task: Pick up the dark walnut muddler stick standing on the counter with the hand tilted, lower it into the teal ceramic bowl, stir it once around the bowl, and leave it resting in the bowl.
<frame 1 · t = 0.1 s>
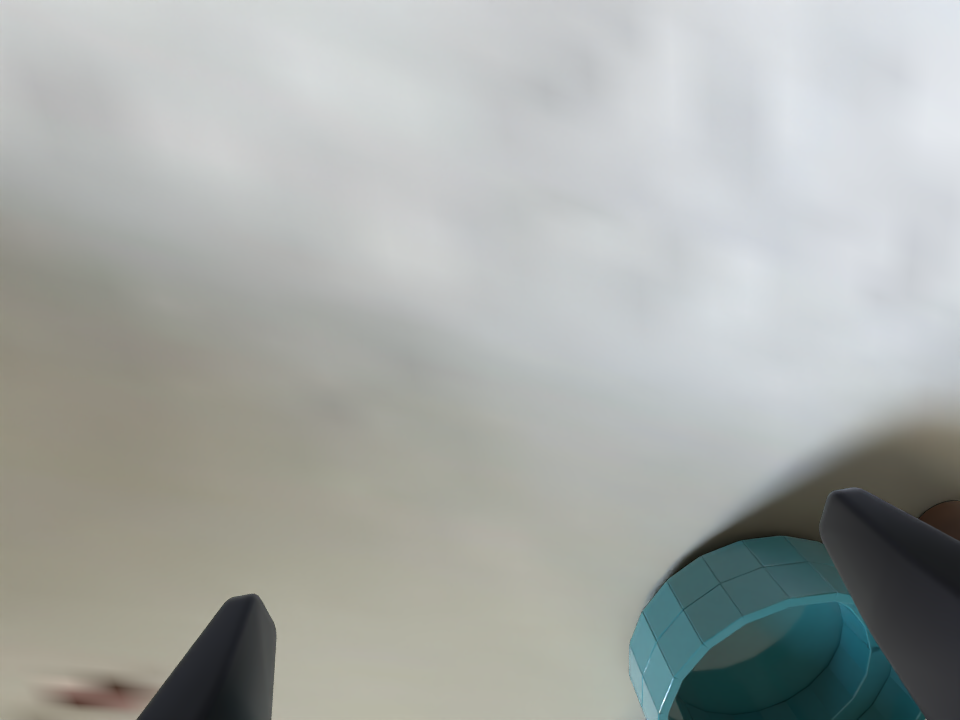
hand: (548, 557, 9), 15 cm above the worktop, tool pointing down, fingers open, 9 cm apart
bowl: (746, 635, 30), on the worktop
muddler: (943, 531, 29), on the worktop
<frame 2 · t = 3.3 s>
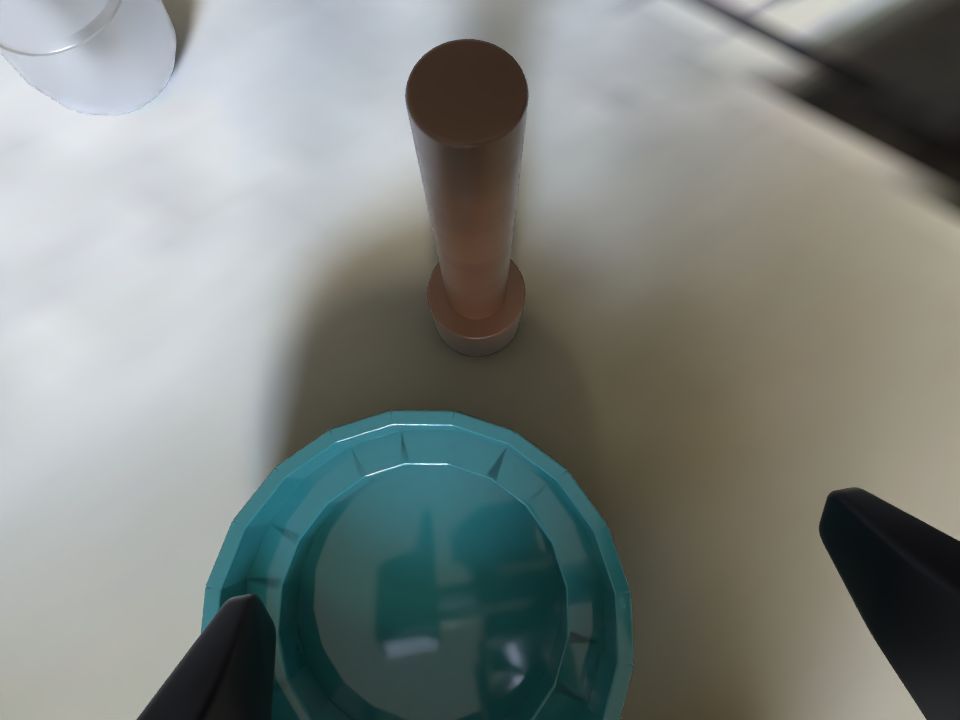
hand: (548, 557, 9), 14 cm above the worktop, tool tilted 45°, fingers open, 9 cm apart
plastic bottle: (128, 75, 27), on the worktop
bowl: (430, 595, 22), on the worktop
muddler: (477, 314, 24), on the worktop
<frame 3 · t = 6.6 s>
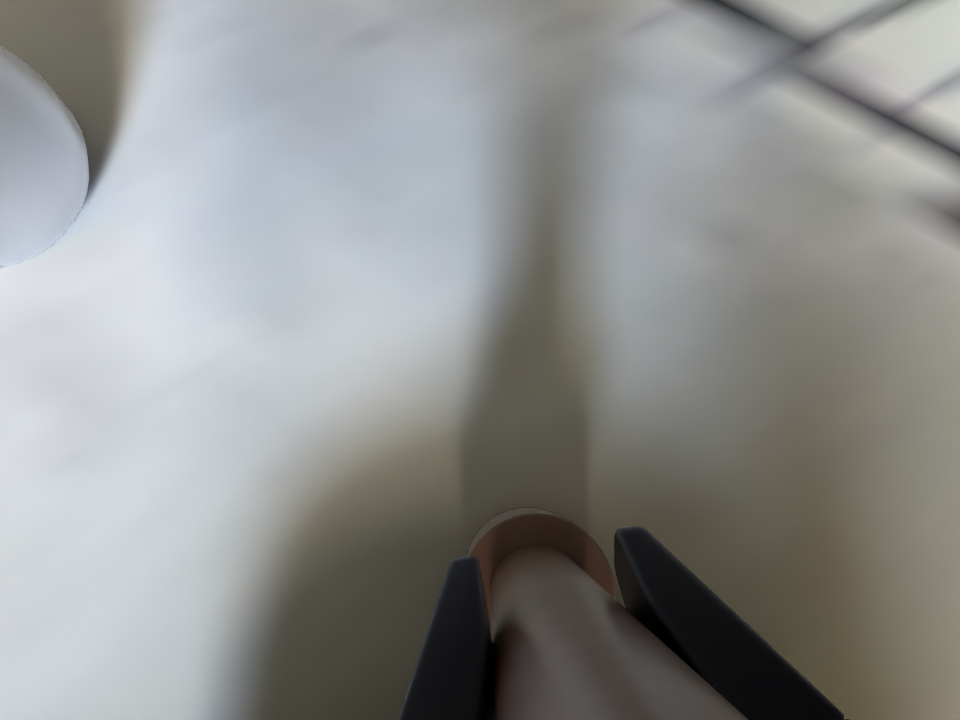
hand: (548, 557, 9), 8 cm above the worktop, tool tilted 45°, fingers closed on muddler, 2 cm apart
plastic bottle: (26, 200, 19), on the worktop
muddler: (527, 573, 16), on the worktop, touching gripper
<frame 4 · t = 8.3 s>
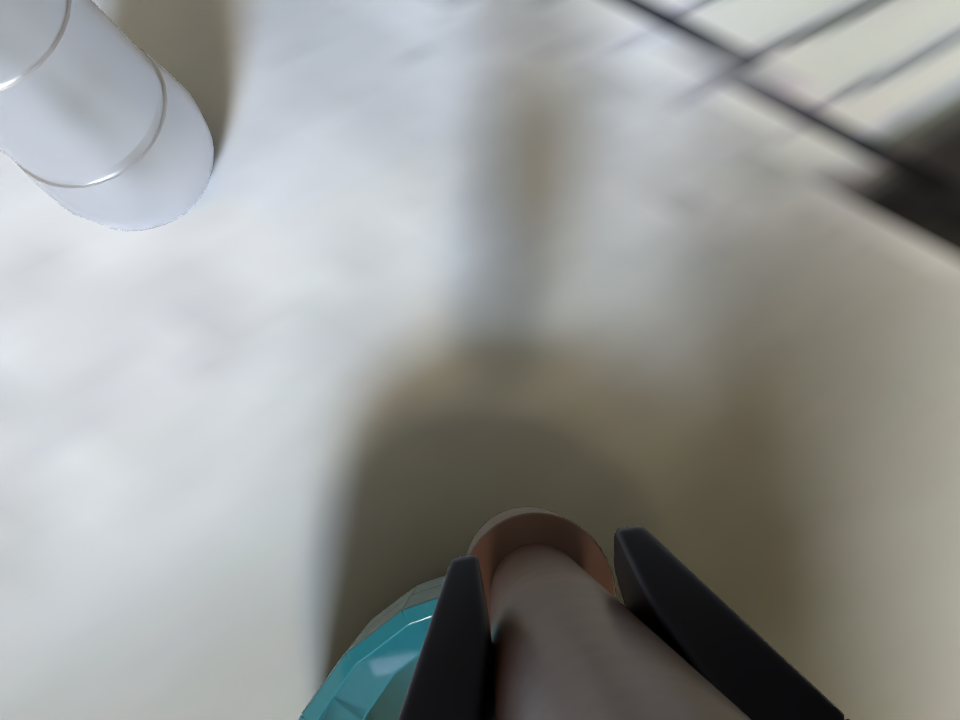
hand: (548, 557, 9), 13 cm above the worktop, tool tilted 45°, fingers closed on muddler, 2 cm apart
plastic bottle: (161, 179, 25), on the worktop
muddler: (528, 572, 16), point 6 cm above the worktop, touching gripper
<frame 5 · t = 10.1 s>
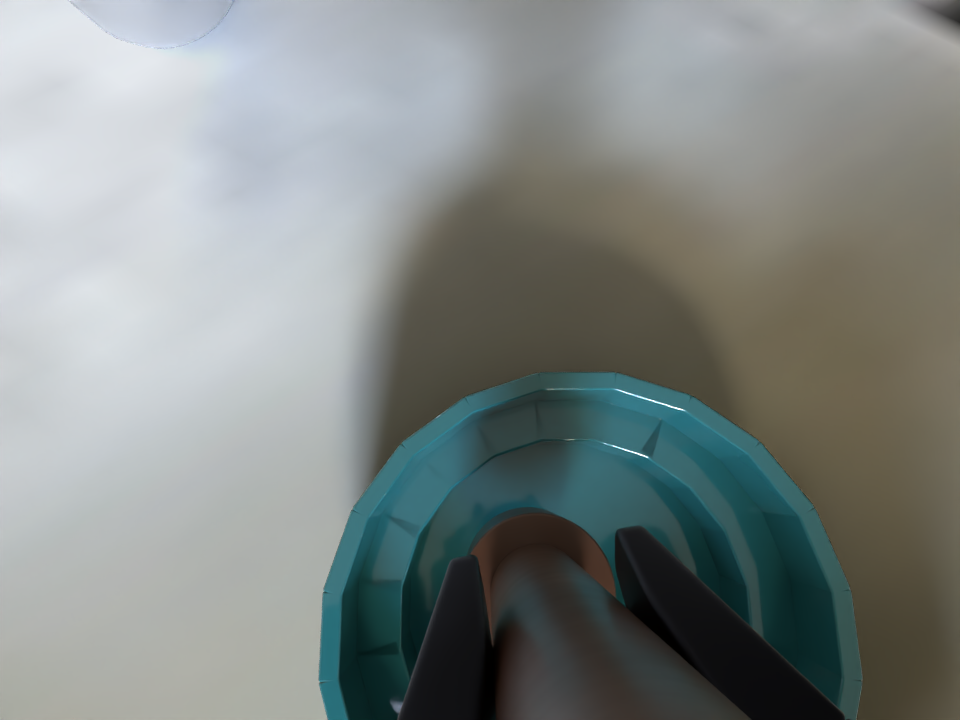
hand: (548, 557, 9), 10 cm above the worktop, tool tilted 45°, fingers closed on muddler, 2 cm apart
plastic bottle: (180, 6, 23), on the worktop
bowl: (563, 597, 18), on the worktop
muddler: (528, 573, 16), point 2 cm above the worktop, touching gripper
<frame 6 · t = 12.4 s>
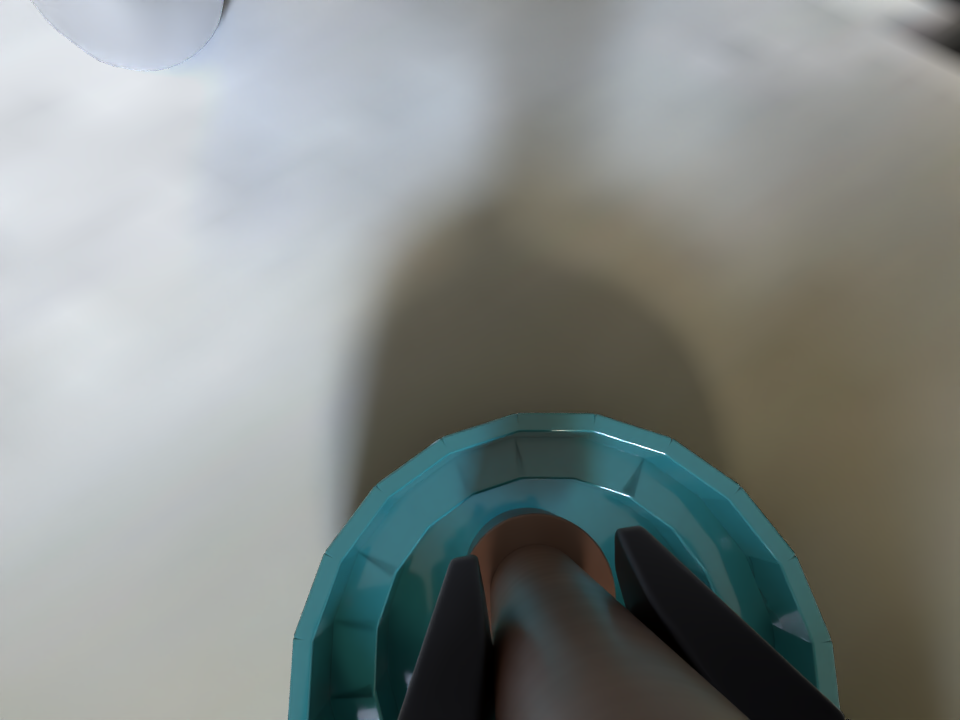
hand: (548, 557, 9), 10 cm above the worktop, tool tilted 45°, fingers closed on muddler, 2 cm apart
plastic bottle: (166, 27, 23), on the worktop
bowl: (543, 635, 18), on the worktop
muddler: (528, 573, 16), point 2 cm above the worktop, touching gripper
when the fingers open (8 cm above the worktop, at t = 13.6 s): muddler stays where it is, resting on bowl.
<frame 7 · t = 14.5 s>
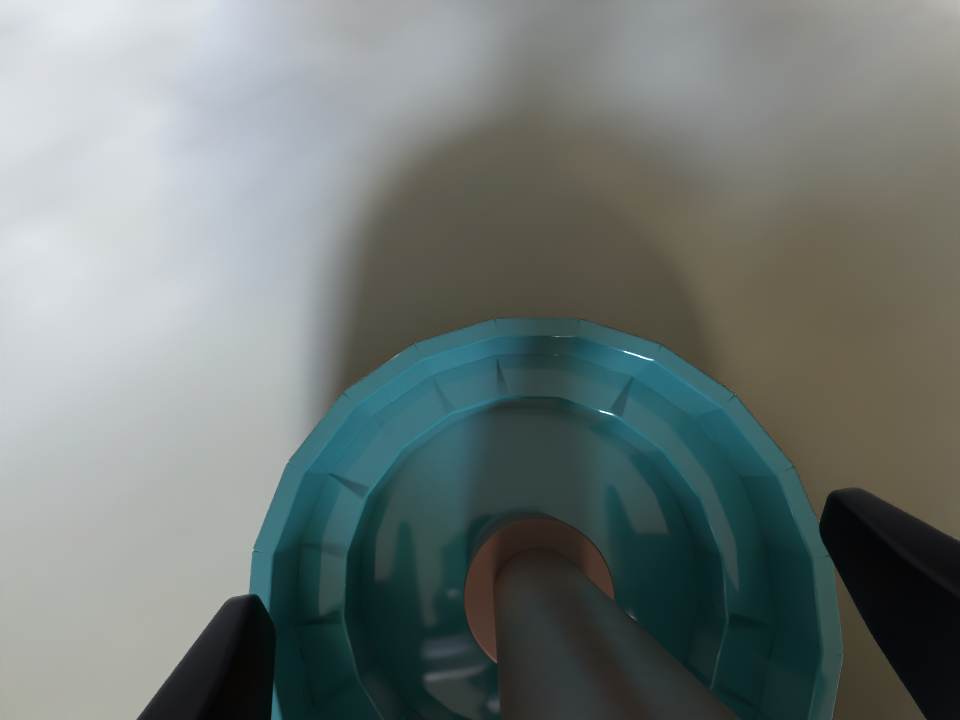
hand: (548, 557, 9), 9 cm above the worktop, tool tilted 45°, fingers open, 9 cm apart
bowl: (527, 570, 17), on the worktop
muddler: (529, 575, 16), resting on bowl
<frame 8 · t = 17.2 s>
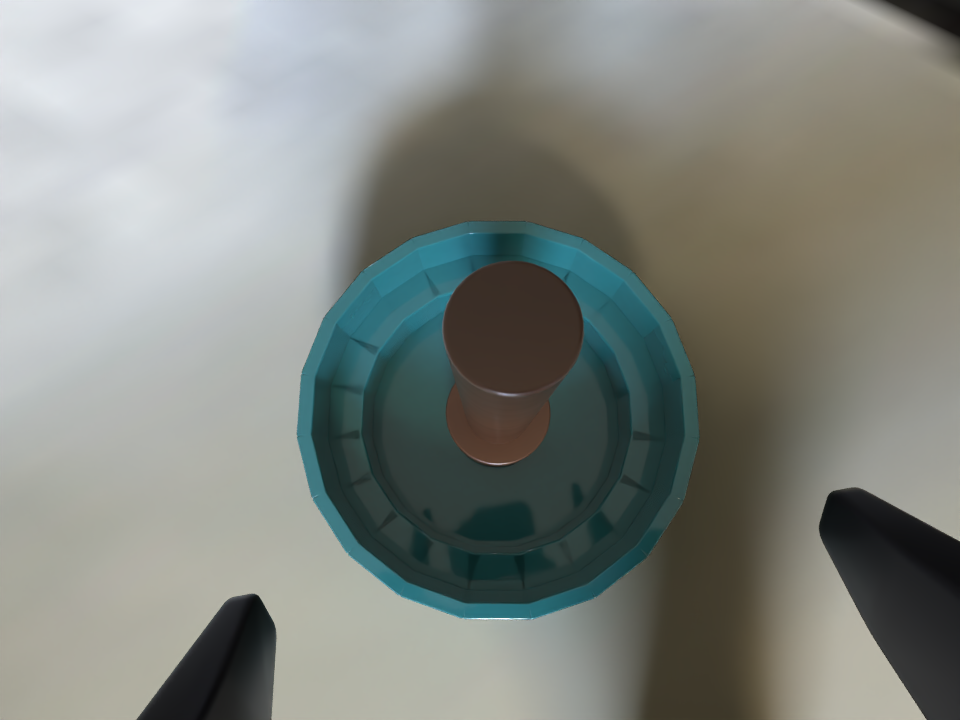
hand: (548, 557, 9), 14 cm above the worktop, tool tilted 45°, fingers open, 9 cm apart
bowl: (495, 420, 23), on the worktop
muddler: (496, 420, 22), resting on bowl
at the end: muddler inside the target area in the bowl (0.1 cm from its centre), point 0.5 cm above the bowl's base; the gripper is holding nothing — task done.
